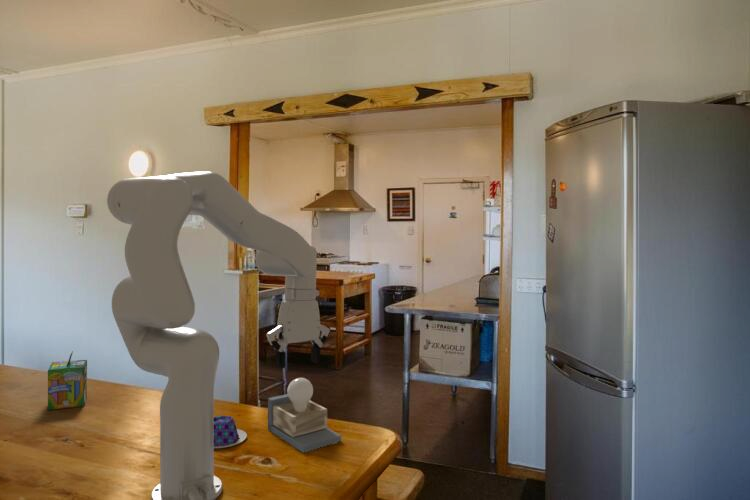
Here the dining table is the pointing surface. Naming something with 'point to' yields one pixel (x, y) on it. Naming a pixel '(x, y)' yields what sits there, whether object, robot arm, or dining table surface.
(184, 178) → the robot arm
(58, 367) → the chalk box
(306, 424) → the box
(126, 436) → the dining table surface
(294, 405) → the lightbulb
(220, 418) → the pudding
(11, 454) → the dining table surface
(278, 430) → the base
